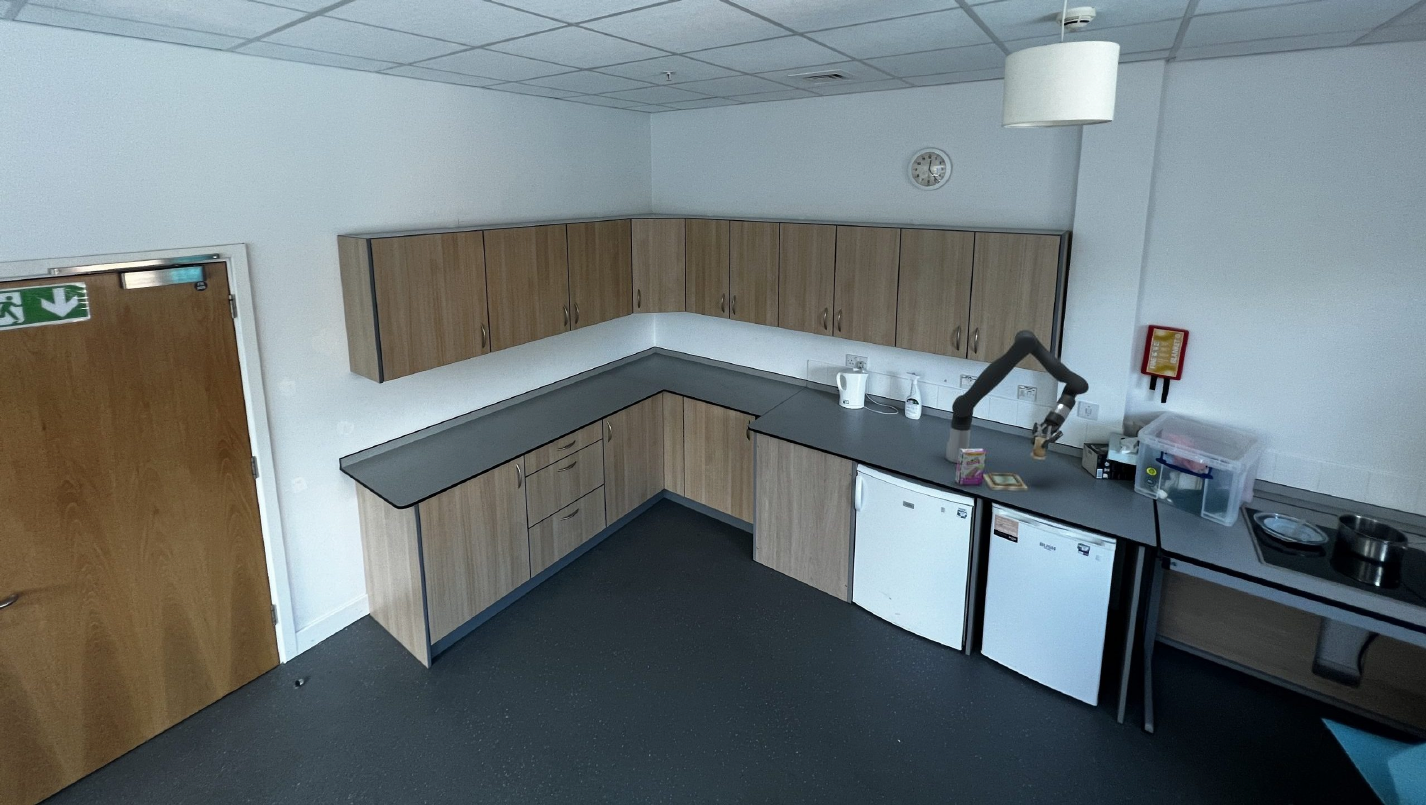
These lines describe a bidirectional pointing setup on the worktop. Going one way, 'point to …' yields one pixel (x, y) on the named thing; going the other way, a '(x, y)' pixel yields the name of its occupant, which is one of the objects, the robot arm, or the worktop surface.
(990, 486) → the picture frame
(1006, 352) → the robot arm
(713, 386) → the worktop surface
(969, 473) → the candy bar box
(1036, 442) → the beech bobbin
